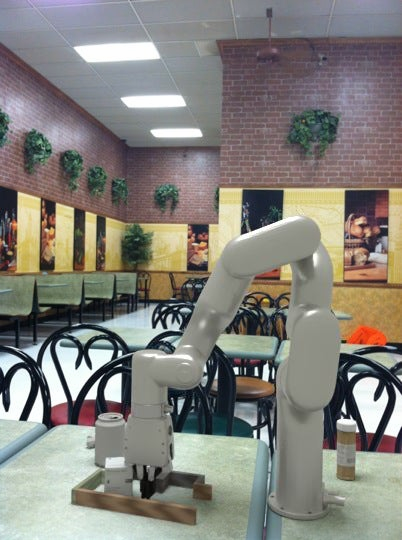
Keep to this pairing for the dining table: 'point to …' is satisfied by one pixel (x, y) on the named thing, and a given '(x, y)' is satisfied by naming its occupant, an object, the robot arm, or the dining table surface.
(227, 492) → the dining table surface
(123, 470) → the skincare box
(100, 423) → the can
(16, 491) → the dining table surface
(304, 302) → the robot arm
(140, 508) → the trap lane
